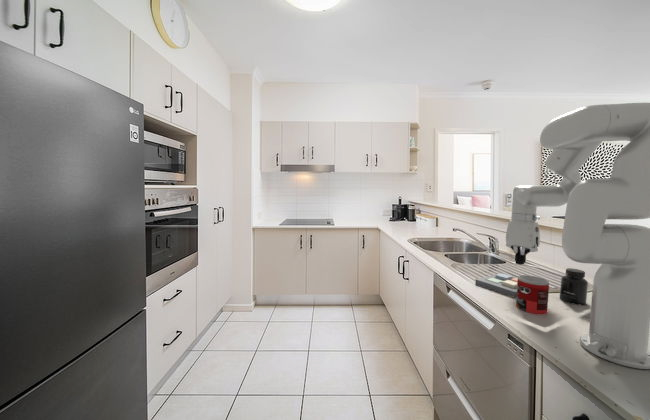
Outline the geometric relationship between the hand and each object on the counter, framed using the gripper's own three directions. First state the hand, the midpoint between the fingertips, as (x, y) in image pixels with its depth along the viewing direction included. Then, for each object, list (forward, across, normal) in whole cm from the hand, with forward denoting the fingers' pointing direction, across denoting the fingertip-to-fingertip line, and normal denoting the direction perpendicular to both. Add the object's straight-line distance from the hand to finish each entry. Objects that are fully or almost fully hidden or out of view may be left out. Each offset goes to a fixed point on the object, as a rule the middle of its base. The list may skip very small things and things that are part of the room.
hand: (519, 263), depth 103 cm
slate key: (+8, +5, 0) cm, 10 cm away
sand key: (+8, -1, +6) cm, 11 cm away
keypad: (+11, +2, +4) cm, 11 cm away
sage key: (+10, +5, +6) cm, 13 cm away
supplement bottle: (+11, -16, -3) cm, 19 cm away
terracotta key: (+8, -1, 0) cm, 8 cm away
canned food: (+10, -13, +17) cm, 24 cm away
